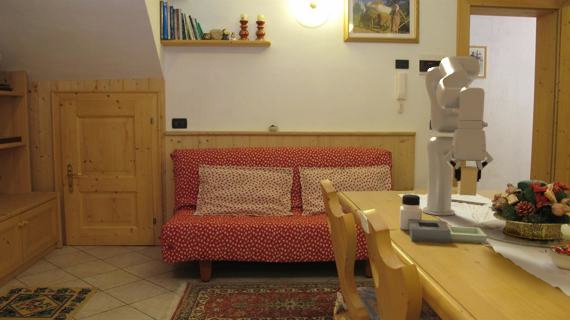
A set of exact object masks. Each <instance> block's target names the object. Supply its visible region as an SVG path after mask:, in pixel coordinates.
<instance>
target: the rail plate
mask: <svg viewBox="0 0 570 320" xmlns="http://www.w3.org/2000/svg"><path fill="white" fill-rule="evenodd" d="M448 226H449V225H447V223H446V222H445V221H444V220H434V219H421V220H416V219H408V230H407V231H408V235H409V237H410V241H411V242H425V243H438V244H439V243H441V244H442V243H443V244H451V241H450V237H451V230H450V229H449V228H448Z"/></svg>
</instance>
